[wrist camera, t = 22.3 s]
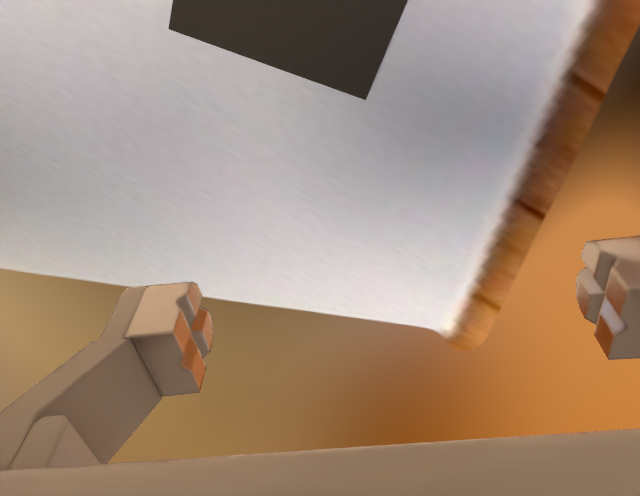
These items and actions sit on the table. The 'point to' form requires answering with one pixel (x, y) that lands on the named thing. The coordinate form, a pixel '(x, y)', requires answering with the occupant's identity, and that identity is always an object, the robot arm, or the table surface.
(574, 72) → the table surface
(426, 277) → the table surface
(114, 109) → the table surface
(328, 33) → the rubber mat
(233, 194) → the table surface
